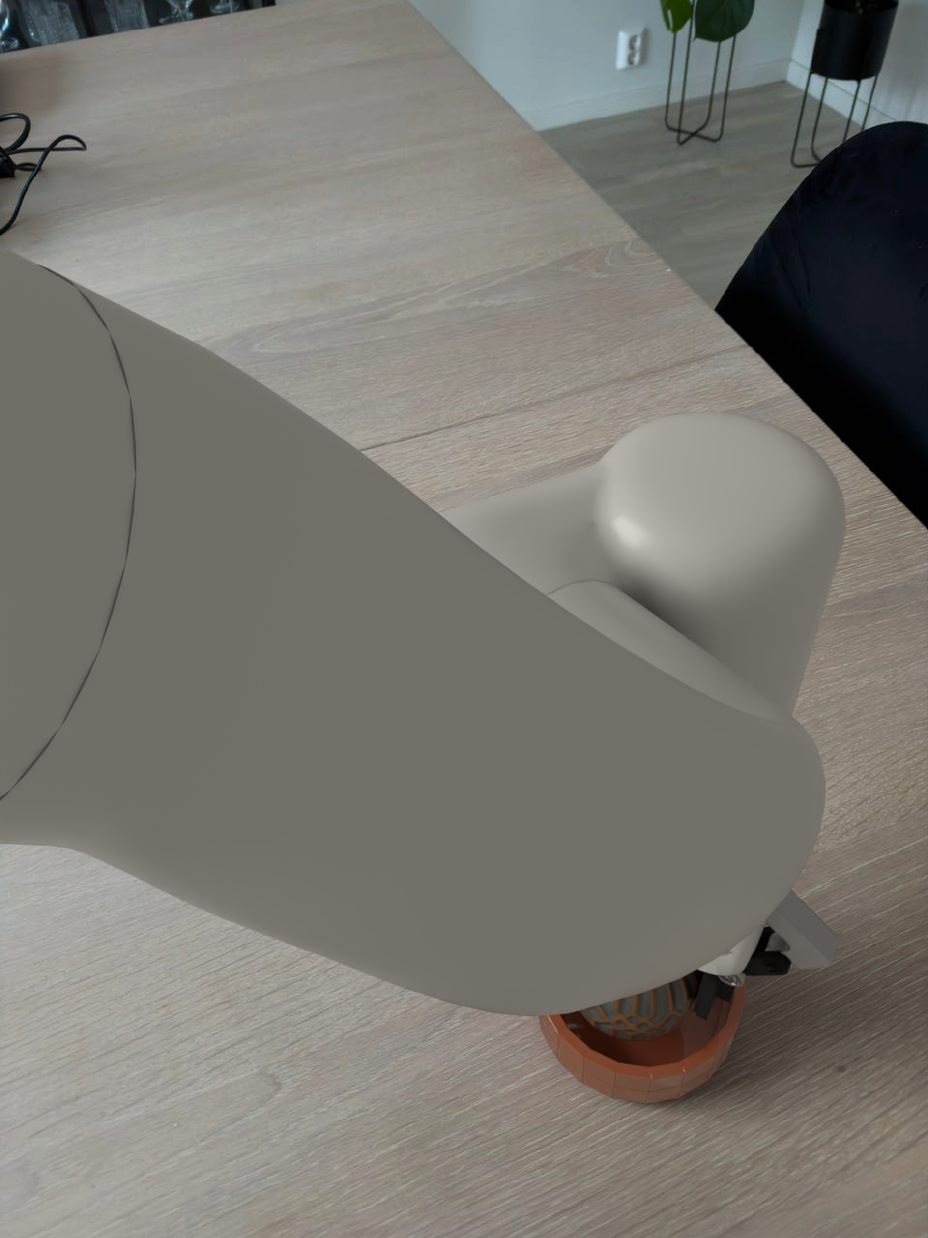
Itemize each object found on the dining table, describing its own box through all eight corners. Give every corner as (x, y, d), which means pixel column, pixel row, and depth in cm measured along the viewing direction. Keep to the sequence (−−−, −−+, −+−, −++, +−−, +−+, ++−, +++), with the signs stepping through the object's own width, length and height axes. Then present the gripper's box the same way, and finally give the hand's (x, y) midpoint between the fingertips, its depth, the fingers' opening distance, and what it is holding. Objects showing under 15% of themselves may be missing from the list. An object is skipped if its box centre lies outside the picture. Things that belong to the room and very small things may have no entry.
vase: (601, 1085, 53) (613, 1008, 46) (536, 961, 57) (539, 876, 51) (723, 1025, 54) (751, 943, 48) (651, 910, 59) (668, 821, 52)
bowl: (695, 1144, 53) (705, 1117, 50) (503, 1049, 57) (501, 1018, 54) (760, 961, 59) (772, 927, 56) (583, 885, 63) (585, 850, 60)
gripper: (415, 724, 40) (439, 946, 53) (894, 916, 34) (790, 1113, 48) (504, 592, 45) (506, 828, 58) (942, 743, 39) (835, 967, 52)
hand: (635, 955), depth 53 cm, fingers closed on vase, 6 cm apart
